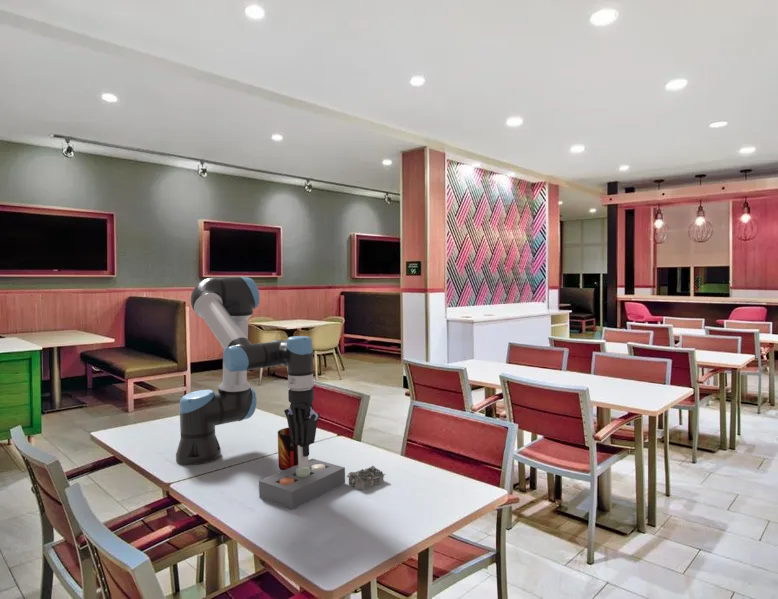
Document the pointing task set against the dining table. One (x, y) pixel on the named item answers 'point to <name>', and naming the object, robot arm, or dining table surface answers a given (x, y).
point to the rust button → (286, 481)
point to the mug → (286, 450)
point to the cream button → (318, 467)
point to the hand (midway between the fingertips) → (303, 466)
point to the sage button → (303, 472)
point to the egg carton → (365, 478)
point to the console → (301, 484)
